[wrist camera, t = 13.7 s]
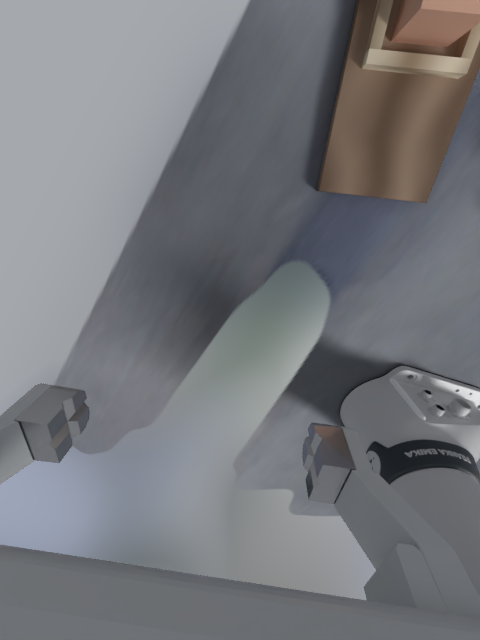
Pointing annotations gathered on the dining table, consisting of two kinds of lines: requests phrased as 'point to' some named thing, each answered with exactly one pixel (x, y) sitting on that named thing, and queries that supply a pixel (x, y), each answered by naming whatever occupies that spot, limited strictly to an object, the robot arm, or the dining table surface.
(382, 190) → the assembly board
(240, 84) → the dining table surface
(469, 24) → the terracotta cube
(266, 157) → the dining table surface
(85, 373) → the dining table surface
